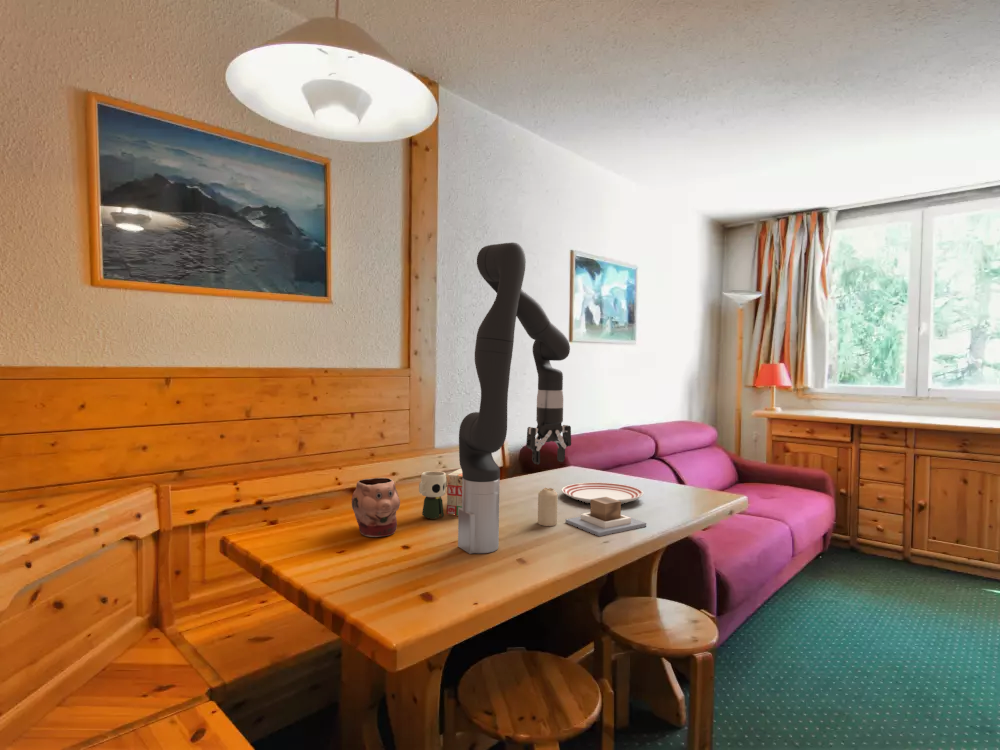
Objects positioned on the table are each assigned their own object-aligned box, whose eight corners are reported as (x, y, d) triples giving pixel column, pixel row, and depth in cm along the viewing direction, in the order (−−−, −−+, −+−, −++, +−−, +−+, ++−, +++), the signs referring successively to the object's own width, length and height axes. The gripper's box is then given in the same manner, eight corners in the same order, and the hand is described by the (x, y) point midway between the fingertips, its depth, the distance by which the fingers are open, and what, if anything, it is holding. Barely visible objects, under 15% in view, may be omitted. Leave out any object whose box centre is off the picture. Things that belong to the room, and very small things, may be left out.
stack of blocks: (471, 498, 183) (472, 461, 183) (489, 500, 181) (490, 463, 181) (446, 514, 163) (447, 474, 162) (466, 517, 161) (466, 475, 161)
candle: (543, 527, 152) (544, 491, 152) (534, 521, 157) (535, 487, 157) (560, 525, 154) (561, 490, 154) (551, 519, 159) (551, 485, 159)
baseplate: (598, 536, 145) (599, 527, 145) (565, 522, 157) (565, 514, 156) (646, 526, 154) (646, 517, 154) (611, 514, 166) (611, 506, 166)
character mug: (427, 524, 153) (428, 478, 153) (410, 518, 157) (411, 474, 157) (454, 516, 161) (455, 472, 161) (438, 511, 166) (438, 469, 166)
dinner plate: (546, 500, 182) (547, 490, 182) (583, 486, 205) (583, 477, 205) (624, 515, 167) (625, 504, 166) (654, 497, 189) (655, 488, 189)
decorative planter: (339, 525, 150) (340, 475, 150) (381, 518, 158) (381, 470, 157) (367, 545, 134) (368, 489, 134) (412, 537, 141) (413, 484, 141)
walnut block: (604, 525, 151) (605, 504, 151) (590, 519, 156) (590, 499, 156) (620, 522, 154) (620, 501, 154) (605, 517, 159) (606, 496, 159)
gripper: (537, 407, 148) (536, 467, 148) (577, 406, 155) (576, 462, 156) (521, 405, 154) (520, 462, 154) (561, 404, 162) (560, 458, 162)
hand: (548, 462), depth 155 cm, fingers open, 8 cm apart
